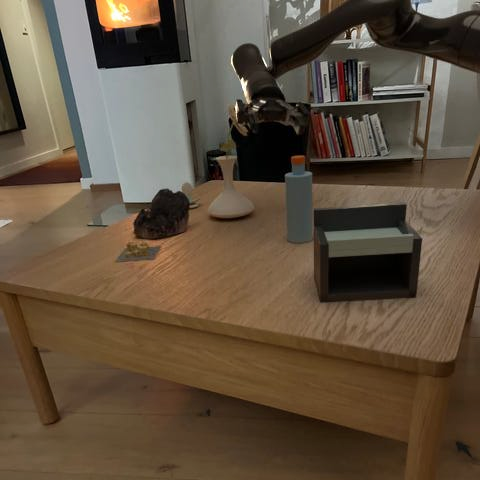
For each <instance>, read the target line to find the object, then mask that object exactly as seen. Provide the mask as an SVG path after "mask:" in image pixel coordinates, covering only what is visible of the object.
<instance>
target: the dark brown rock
mask: <svg viewBox="0 0 480 480" xmlns="http://www.w3.org/2000/svg"><path fill="white" fill-rule="evenodd" d="M189 207H190V202H189V199H188V198H187V196H186V195H185V194H184V193H183V192H182V190H177V191H176V192H173V190H171V189H169V188H161V189H159V190H158V191H157V193H156V194H155V195H154V197H153V198H152V199H151V202H150V204H149V205H148V206H147V208H146V209H144V208H141V209H140V211H138V213H137V215H136V218H135V219H134V220H133V224H132V225H133V235H135V236H139V237H140V238H143V239H147V240H154V239H155V240H156V239H162V238H166V237H171V236H175V235H177V234H181V233H184V232H185V231H186V230H187V227H188V222H189V218H190V213H189V212H190V211H189V210H190V208H189Z"/></svg>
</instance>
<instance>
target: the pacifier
mask: <svg viewBox="0 0 480 480" xmlns="http://www.w3.org/2000/svg"><path fill="white" fill-rule="evenodd" d="M181 192H183V193H184V194H185V195H186V196H187V198H188V199H189V202H190V207H189V209H194V208H197V207H198V206H199V204H198V203H197V202H199V201H200V200H201V199H202V196H200V197H197V198H195V199H193V194H192V193H193V185H192V183H190V182H188V181H187V182H184V183H182V186H181Z"/></svg>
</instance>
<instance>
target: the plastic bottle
mask: <svg viewBox="0 0 480 480" xmlns="http://www.w3.org/2000/svg"><path fill="white" fill-rule="evenodd" d="M290 161H291V162H290V163H291V172H288V173H285V175H284V186H285V187H284V188H285V189H284V190H285V215H286V216H285V217H286V241H288V242H289V243H293V244H305V243H309V242H311V241H312V240H314V217H313V173H312V172H311V171H306V156H305V155H293V156H291V158H290Z"/></svg>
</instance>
